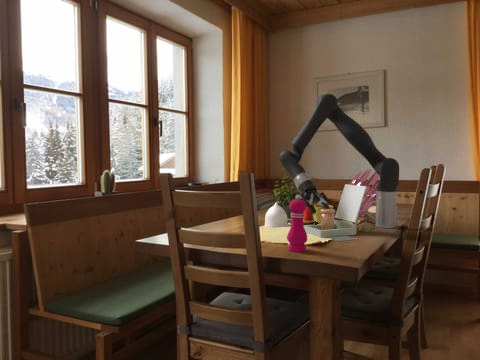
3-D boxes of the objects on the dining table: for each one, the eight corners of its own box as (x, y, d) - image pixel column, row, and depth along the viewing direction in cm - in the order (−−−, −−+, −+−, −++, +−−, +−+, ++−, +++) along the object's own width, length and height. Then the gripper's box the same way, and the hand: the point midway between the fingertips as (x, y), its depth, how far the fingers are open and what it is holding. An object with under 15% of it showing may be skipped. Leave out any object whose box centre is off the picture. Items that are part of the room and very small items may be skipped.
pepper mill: (285, 247, 157) (286, 194, 155) (304, 247, 157) (305, 194, 156) (289, 252, 149) (290, 196, 148) (309, 252, 150) (310, 196, 149)
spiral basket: (409, 181, 242) (368, 154, 247) (406, 197, 218) (361, 167, 222) (379, 217, 255) (341, 190, 260) (374, 235, 230) (332, 206, 235)
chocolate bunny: (376, 233, 187) (377, 211, 186) (358, 232, 188) (358, 210, 187) (375, 231, 192) (376, 209, 191) (357, 230, 193) (358, 209, 193)
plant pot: (332, 227, 200) (333, 207, 200) (310, 227, 202) (311, 206, 202) (332, 224, 211) (332, 204, 210) (311, 223, 213) (311, 204, 212)
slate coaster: (344, 237, 177) (344, 235, 177) (358, 241, 169) (358, 239, 169) (326, 239, 173) (326, 236, 173) (339, 243, 165) (339, 240, 165)
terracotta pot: (329, 230, 188) (329, 208, 187) (337, 233, 182) (338, 210, 182) (317, 231, 185) (317, 209, 185) (325, 234, 180) (326, 210, 179)
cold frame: (345, 229, 195) (346, 184, 194) (365, 235, 182) (366, 186, 181) (302, 233, 186) (302, 185, 184) (320, 239, 173) (321, 187, 172)
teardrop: (292, 226, 204) (292, 201, 203) (274, 228, 198) (274, 203, 197) (277, 223, 213) (277, 199, 212) (260, 225, 207) (260, 200, 206)
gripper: (297, 179, 189) (314, 208, 180) (320, 178, 196) (338, 206, 188) (289, 190, 193) (305, 218, 184) (312, 189, 201) (329, 216, 192)
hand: (322, 212), depth 186 cm, fingers open, 8 cm apart
